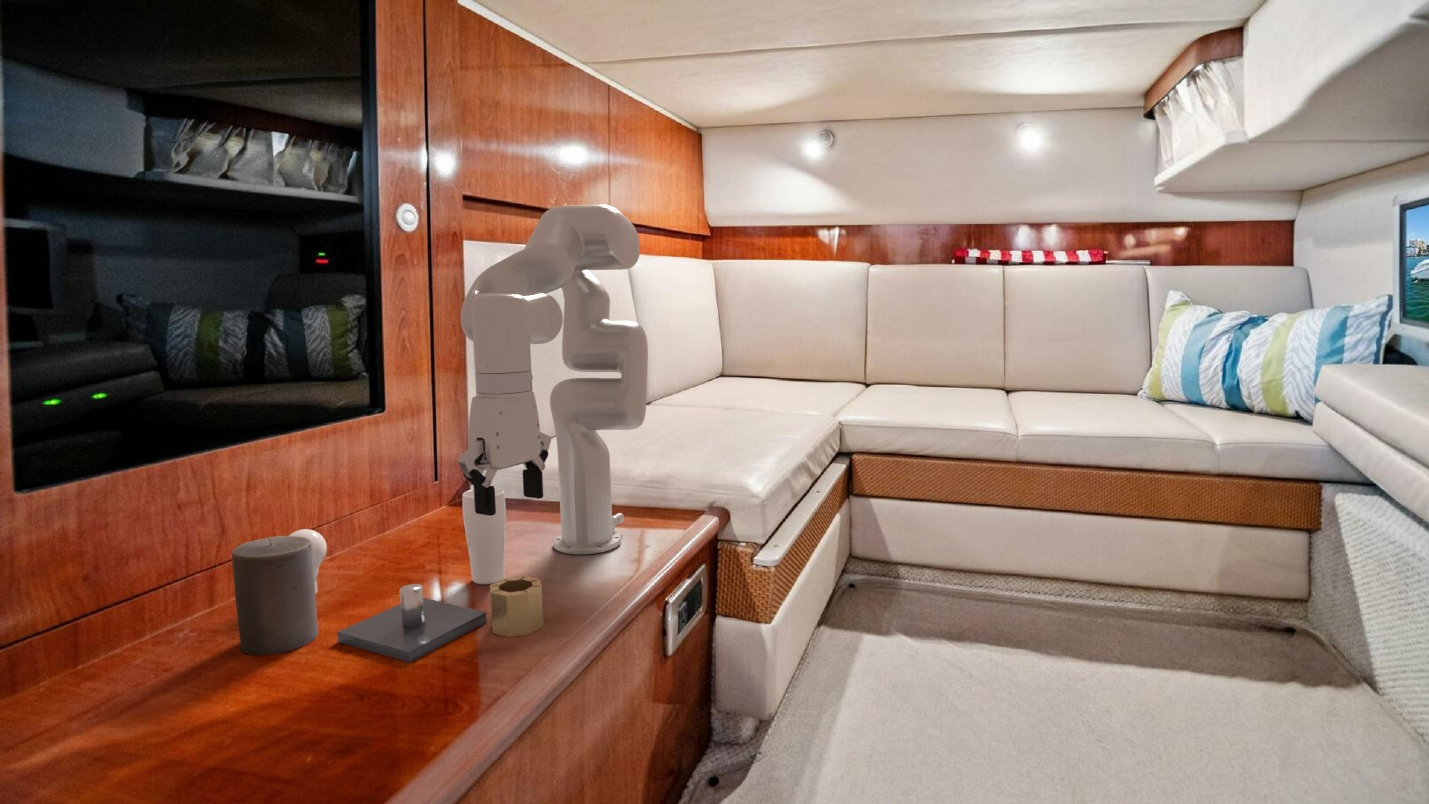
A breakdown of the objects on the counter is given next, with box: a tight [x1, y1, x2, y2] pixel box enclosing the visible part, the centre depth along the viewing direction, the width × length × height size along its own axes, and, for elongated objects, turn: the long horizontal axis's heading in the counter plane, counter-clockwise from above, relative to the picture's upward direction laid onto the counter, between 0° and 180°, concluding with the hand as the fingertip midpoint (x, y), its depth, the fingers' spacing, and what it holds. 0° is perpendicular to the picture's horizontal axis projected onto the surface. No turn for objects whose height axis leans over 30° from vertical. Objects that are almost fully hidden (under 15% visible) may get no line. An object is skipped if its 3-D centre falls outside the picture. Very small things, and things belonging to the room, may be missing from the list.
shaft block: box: [337, 583, 488, 663], centre depth 112 cm, size 14×14×6 cm
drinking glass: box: [461, 487, 507, 585], centre depth 131 cm, size 7×7×15 cm
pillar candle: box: [231, 535, 319, 656], centre depth 109 cm, size 10×10×15 cm
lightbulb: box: [288, 528, 328, 595], centre depth 125 cm, size 6×6×11 cm
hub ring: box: [489, 575, 544, 638], centre depth 113 cm, size 7×7×6 cm
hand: (510, 505), depth 111 cm, fingers open, 9 cm apart
